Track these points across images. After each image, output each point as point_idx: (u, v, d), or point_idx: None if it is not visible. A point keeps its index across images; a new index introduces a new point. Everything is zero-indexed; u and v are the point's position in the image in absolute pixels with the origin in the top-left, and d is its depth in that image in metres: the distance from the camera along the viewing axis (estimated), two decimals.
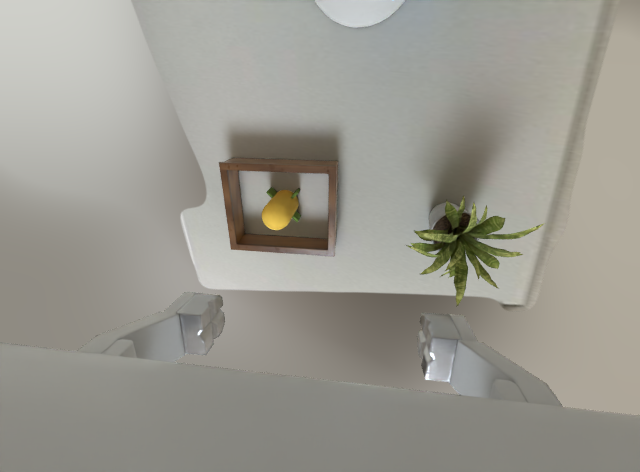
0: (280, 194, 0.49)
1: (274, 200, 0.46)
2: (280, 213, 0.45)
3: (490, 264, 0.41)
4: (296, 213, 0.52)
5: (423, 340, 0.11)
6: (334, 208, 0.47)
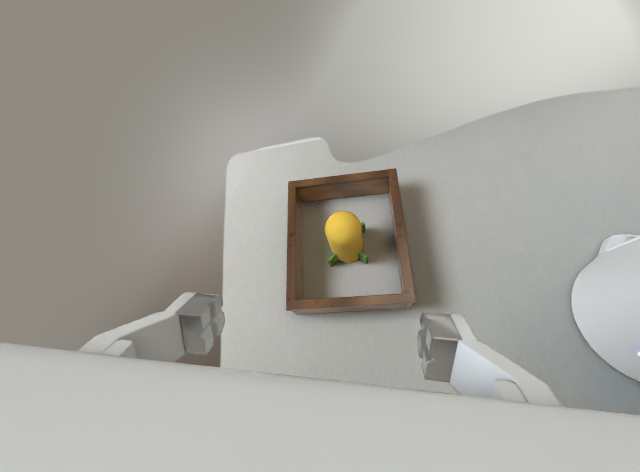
0: None
1: None
2: (351, 231, 0.35)
3: None
4: (335, 259, 0.41)
5: (423, 340, 0.11)
6: (357, 304, 0.35)
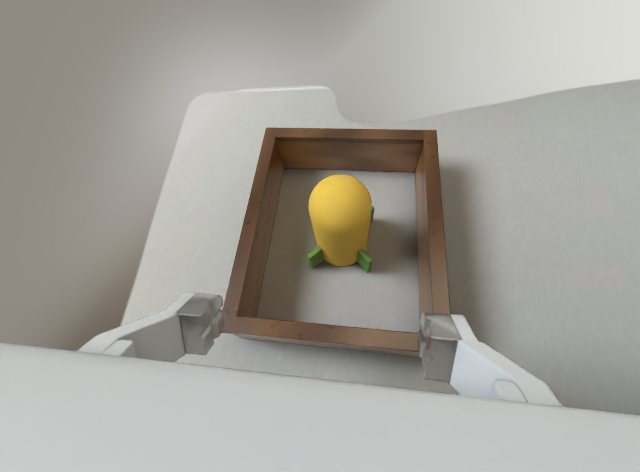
0: None
1: None
2: (355, 208, 0.19)
3: None
4: (320, 259, 0.26)
5: (423, 340, 0.11)
6: (345, 341, 0.19)
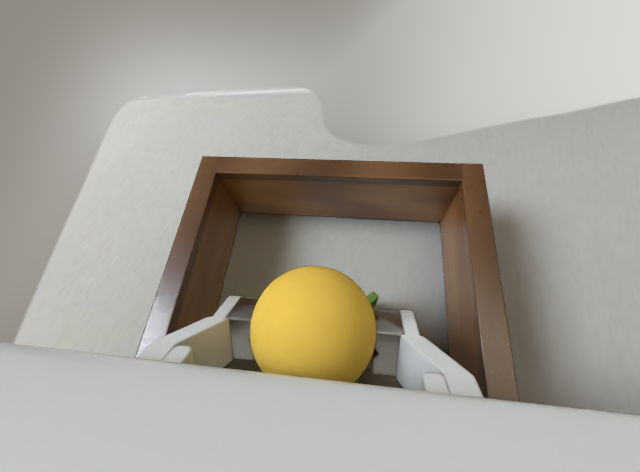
0: None
1: None
2: (340, 360, 0.09)
3: None
4: None
5: None
6: None
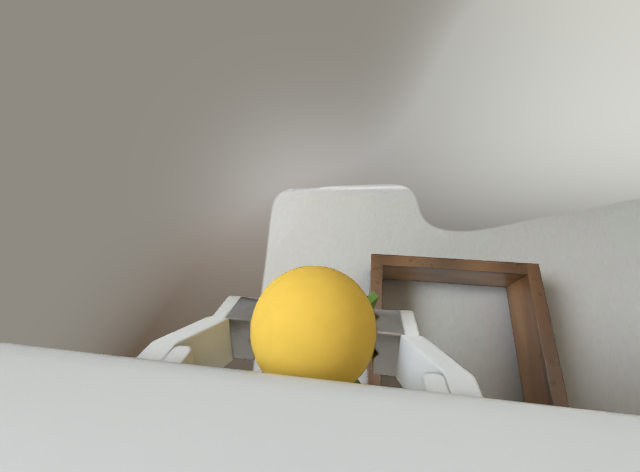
0: None
1: None
2: (341, 359, 0.09)
3: None
4: None
5: None
6: None
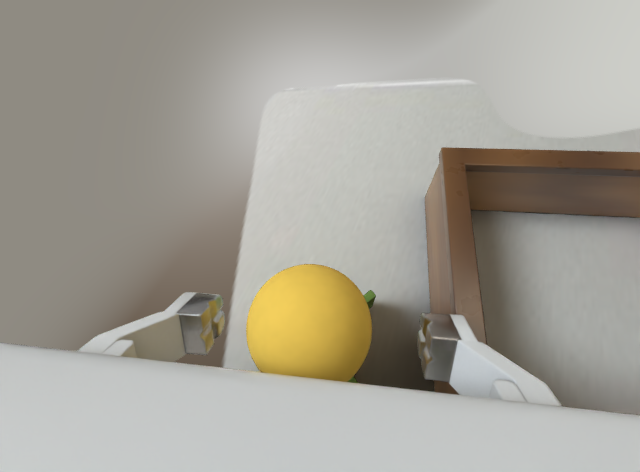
0: None
1: None
2: (335, 357, 0.09)
3: None
4: None
5: (423, 340, 0.11)
6: None
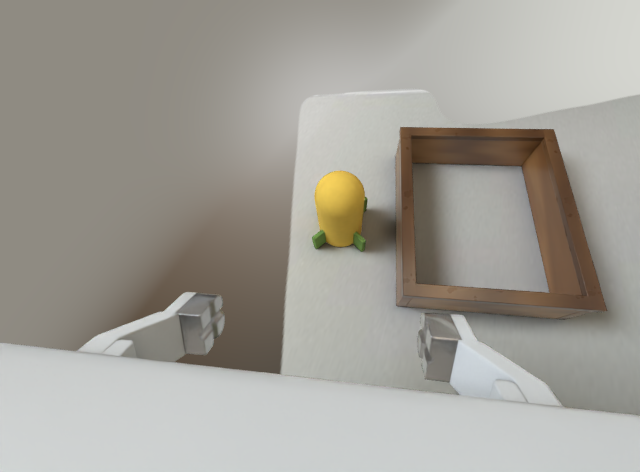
0: None
1: None
2: (351, 197, 0.25)
3: None
4: (323, 241, 0.31)
5: (423, 340, 0.11)
6: (514, 301, 0.23)
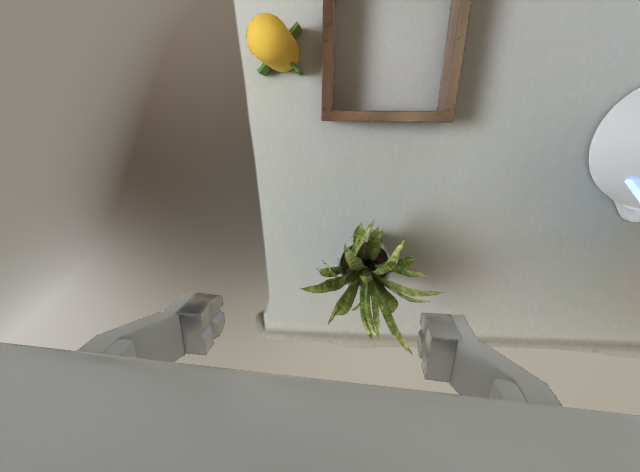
0: (295, 45, 0.35)
1: (289, 36, 0.32)
2: (274, 46, 0.31)
3: (340, 307, 0.38)
4: (268, 69, 0.38)
5: (423, 340, 0.11)
6: (394, 119, 0.35)
